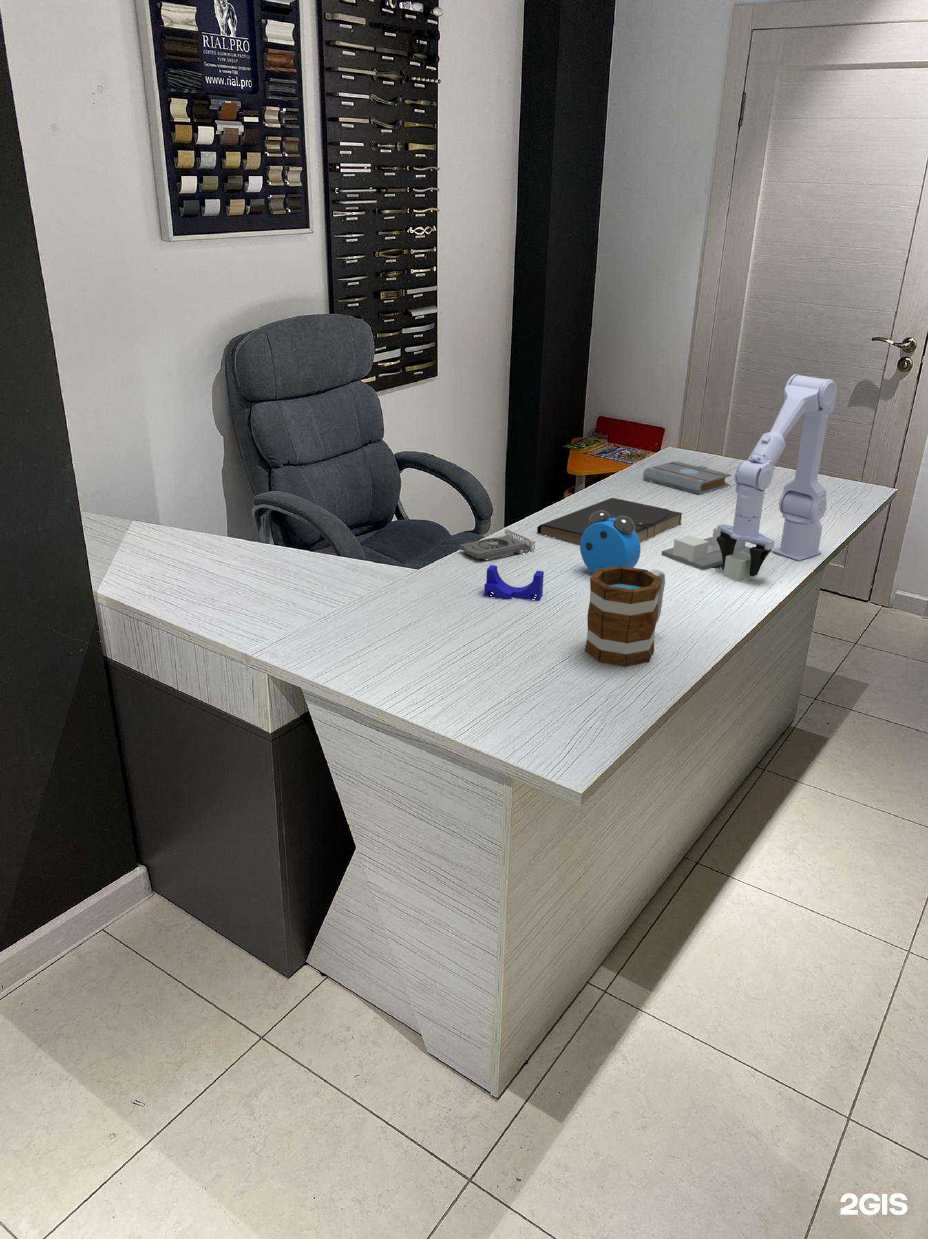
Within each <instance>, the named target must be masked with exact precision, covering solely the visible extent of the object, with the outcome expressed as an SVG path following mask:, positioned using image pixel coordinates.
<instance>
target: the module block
mask: <svg viewBox="0 0 928 1239" xmlns="http://www.w3.org/2000/svg"><path fill="white" fill-rule="evenodd" d="M750 565H751V556H750V554H749V553H746V552H743V551H742V552H738V553H735V554H732V555H728V556H726V560H725V567H724V566H723V568H724V569H723V574H722V575H723V577H725V578H727V579H730V580H733V581H735V582H738V583H739V582H743V581H746V580H749V579H752V578H755V577H756V576H750ZM751 577H752V578H751Z"/></svg>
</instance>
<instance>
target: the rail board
mask: <svg viewBox="0 0 928 1239" xmlns="http://www.w3.org/2000/svg"><path fill="white" fill-rule="evenodd" d="M712 538H713V536H710V537H707V538H703V539H702V540H705V541H708V542H709V545H708V554H707V558H704V559H700V560H697V561H693V562H691V561H688V560H685V559H683V558H684V557H683V558H680V557H681V556H680V557H679V556H674V555H673V548H674V547H671V548H668V549H664V550H662V551H661V555H662V556H664V557H667V558H670V559H672V560H674V559H675V561H677V562H680V563H683V564H685V565H688V566H691V567H694V568H696V569H698V568H699V569H698V570H702V571H706V570H708V569H711V568H714V567H718V566H721V565H723V560H722V554H721V550H720V547H719V544H712ZM750 548H751V547H750V546H749V547H748V546H746V545H745V546H744V547H741V548H737V549H734V552H733V554H735V553H738V552H742V551H743V552H746V553H749V554H750Z"/></svg>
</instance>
